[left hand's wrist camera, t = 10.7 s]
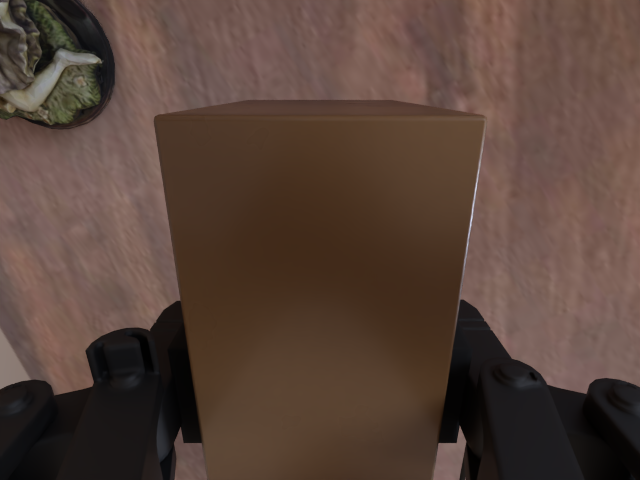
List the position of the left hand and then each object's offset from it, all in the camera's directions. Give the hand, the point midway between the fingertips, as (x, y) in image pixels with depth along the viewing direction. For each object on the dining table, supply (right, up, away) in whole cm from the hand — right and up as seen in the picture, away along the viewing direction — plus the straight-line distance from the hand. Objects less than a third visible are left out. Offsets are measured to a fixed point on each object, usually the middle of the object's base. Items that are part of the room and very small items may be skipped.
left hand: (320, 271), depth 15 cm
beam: (0, -18, +8) cm, 20 cm away
